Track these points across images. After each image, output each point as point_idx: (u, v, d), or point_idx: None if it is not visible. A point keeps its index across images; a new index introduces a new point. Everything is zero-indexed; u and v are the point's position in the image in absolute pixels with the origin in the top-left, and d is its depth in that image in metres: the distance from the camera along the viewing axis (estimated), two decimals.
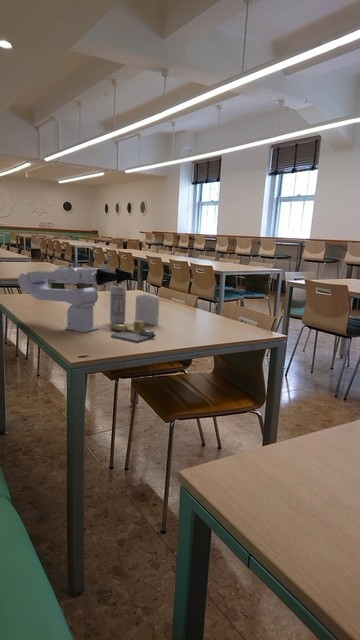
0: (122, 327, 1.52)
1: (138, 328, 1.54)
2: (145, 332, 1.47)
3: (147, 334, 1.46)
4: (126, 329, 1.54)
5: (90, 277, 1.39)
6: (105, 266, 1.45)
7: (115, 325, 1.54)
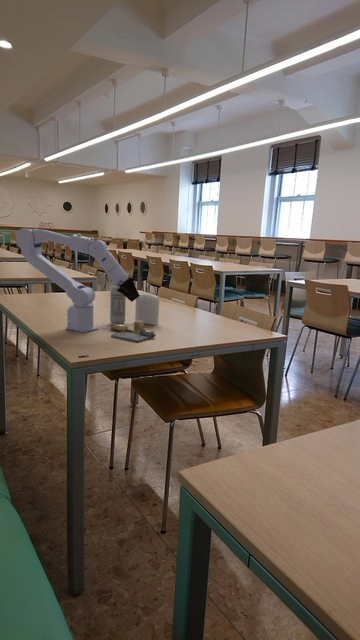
0: (122, 327, 1.52)
1: (138, 328, 1.54)
2: (145, 332, 1.47)
3: (147, 334, 1.46)
4: (126, 329, 1.54)
5: (123, 276, 1.43)
6: None
7: (115, 325, 1.54)
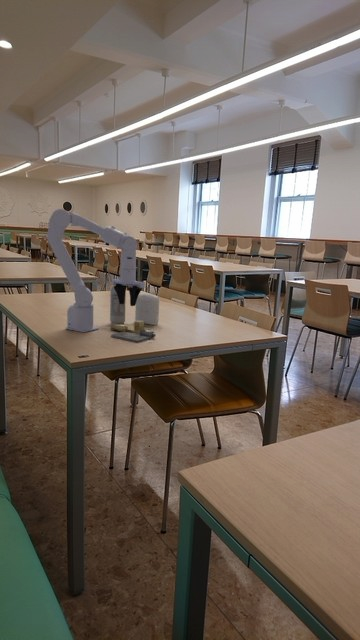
0: (122, 327, 1.52)
1: (138, 328, 1.54)
2: (145, 332, 1.47)
3: (147, 334, 1.46)
4: (126, 329, 1.54)
5: (143, 284, 1.52)
6: None
7: (115, 325, 1.54)
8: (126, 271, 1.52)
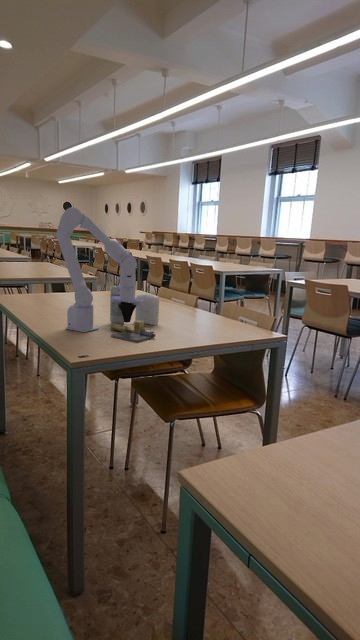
0: (122, 327, 1.52)
1: (138, 328, 1.54)
2: (145, 332, 1.47)
3: (147, 334, 1.46)
4: (126, 329, 1.54)
5: (142, 302, 1.53)
6: None
7: (115, 325, 1.54)
8: (126, 289, 1.53)
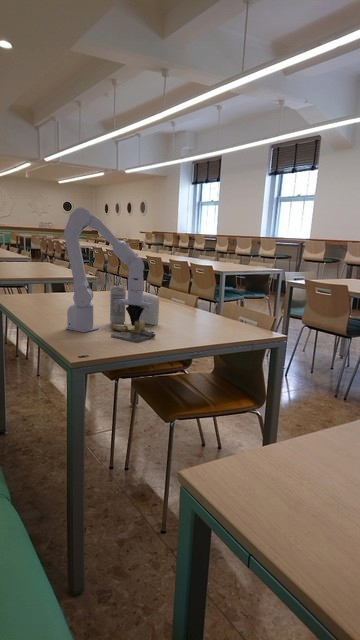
0: (122, 327, 1.52)
1: (138, 328, 1.54)
2: (145, 332, 1.47)
3: (147, 334, 1.46)
4: (126, 329, 1.53)
5: (150, 305, 1.51)
6: None
7: (115, 325, 1.54)
8: (134, 292, 1.52)
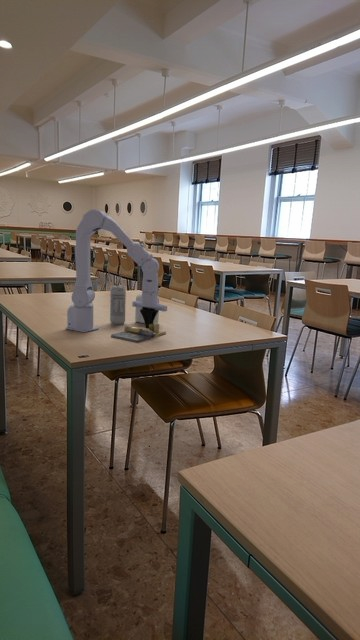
0: (137, 330, 1.49)
1: (153, 331, 1.51)
2: (145, 332, 1.47)
3: (147, 334, 1.46)
4: None
5: (165, 307, 1.48)
6: None
7: (129, 328, 1.51)
8: (148, 294, 1.48)
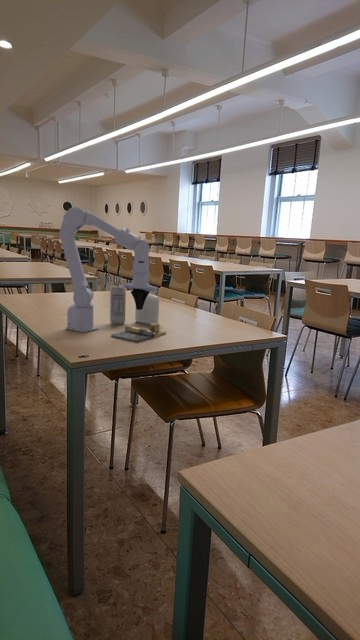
0: (137, 330, 1.49)
1: (153, 331, 1.51)
2: (145, 332, 1.47)
3: (147, 334, 1.46)
4: None
5: (155, 288, 1.50)
6: None
7: (130, 328, 1.51)
8: (139, 275, 1.50)
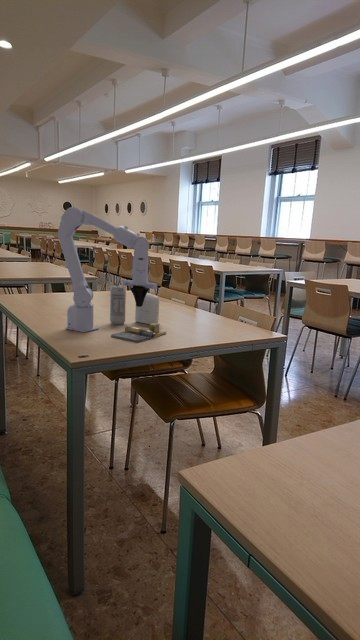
0: (137, 330, 1.49)
1: (153, 331, 1.51)
2: (145, 332, 1.47)
3: (147, 334, 1.46)
4: None
5: (155, 285, 1.50)
6: None
7: (130, 328, 1.51)
8: (138, 272, 1.50)
